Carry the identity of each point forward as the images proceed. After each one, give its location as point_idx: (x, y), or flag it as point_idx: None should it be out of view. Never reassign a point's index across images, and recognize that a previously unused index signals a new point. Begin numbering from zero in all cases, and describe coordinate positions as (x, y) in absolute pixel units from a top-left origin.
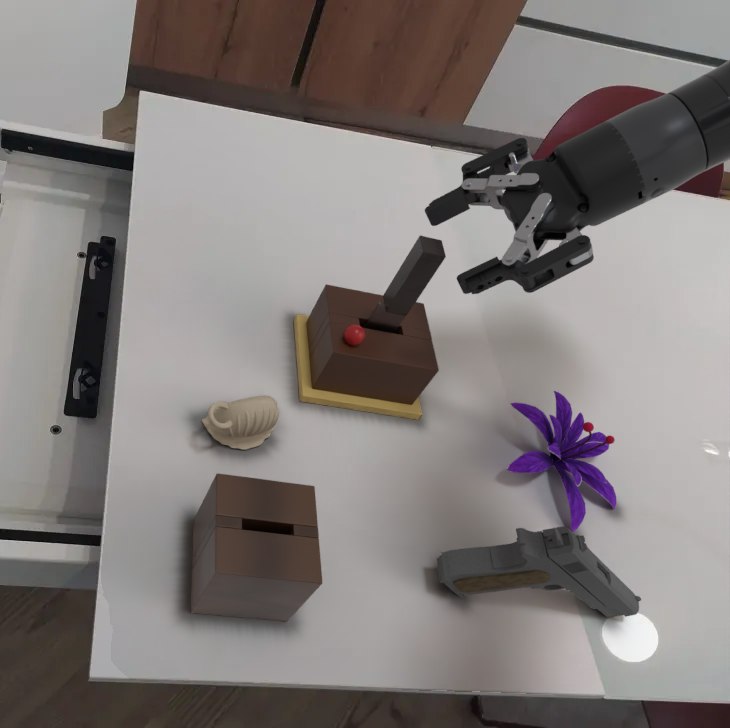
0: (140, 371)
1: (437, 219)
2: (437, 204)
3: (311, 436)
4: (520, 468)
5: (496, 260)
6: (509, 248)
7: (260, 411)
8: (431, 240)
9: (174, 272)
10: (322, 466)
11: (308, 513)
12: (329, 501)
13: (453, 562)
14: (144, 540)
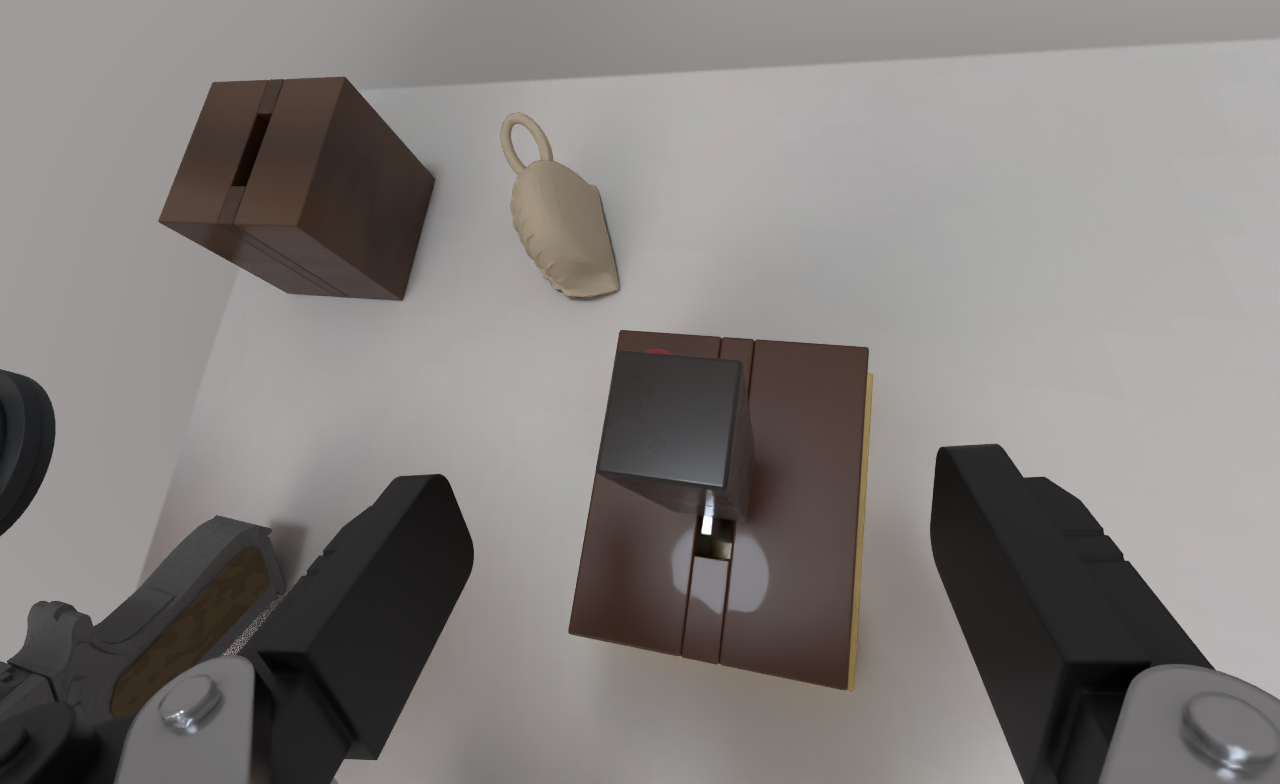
0: (691, 93)
1: (945, 544)
2: (997, 486)
3: (560, 372)
4: None
5: (287, 635)
6: (236, 743)
7: (519, 203)
8: (712, 421)
9: (966, 129)
10: (499, 383)
11: (254, 210)
12: (436, 383)
13: (217, 531)
14: (418, 123)
